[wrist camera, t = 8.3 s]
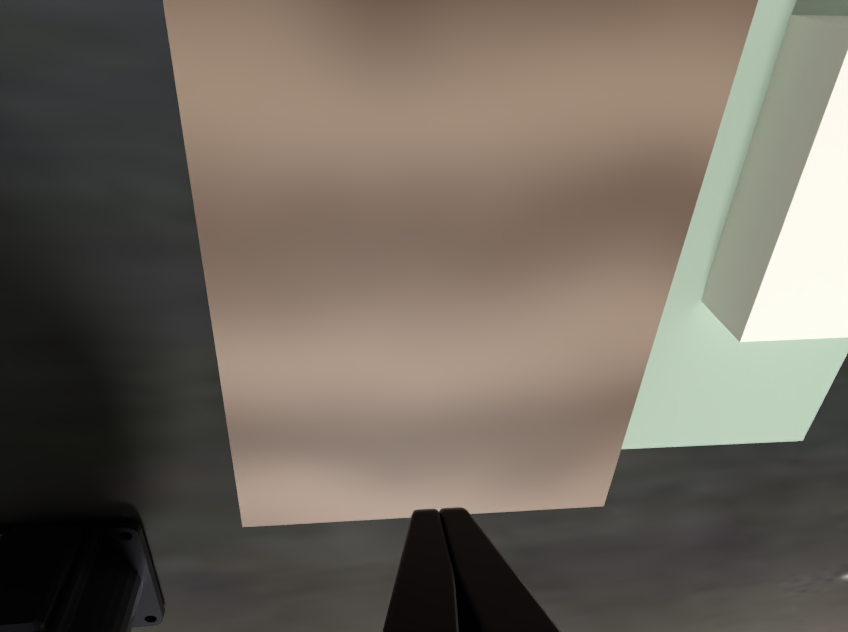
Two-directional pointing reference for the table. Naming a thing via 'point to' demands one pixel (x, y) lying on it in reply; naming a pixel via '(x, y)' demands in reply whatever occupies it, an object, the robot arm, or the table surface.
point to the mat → (700, 329)
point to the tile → (791, 199)
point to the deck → (441, 236)
